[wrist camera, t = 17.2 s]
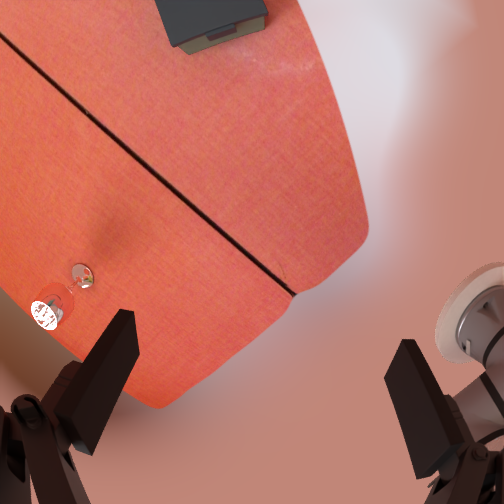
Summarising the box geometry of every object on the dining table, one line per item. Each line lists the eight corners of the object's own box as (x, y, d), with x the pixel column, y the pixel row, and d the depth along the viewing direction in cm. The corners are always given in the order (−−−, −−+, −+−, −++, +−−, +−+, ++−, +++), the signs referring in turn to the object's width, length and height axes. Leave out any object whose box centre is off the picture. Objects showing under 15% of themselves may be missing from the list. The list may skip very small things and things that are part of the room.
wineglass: (72, 288, 47) (35, 328, 36) (66, 258, 44) (24, 295, 33) (99, 293, 47) (64, 336, 36) (94, 261, 44) (53, 301, 33)
